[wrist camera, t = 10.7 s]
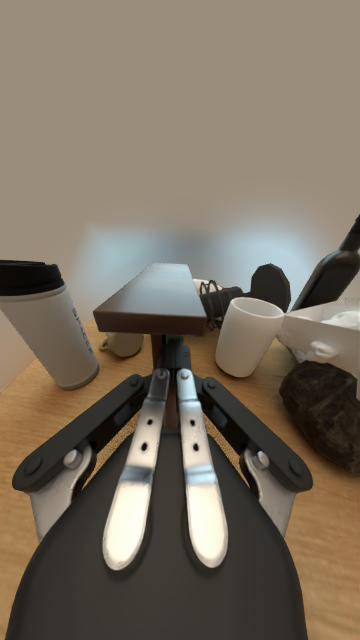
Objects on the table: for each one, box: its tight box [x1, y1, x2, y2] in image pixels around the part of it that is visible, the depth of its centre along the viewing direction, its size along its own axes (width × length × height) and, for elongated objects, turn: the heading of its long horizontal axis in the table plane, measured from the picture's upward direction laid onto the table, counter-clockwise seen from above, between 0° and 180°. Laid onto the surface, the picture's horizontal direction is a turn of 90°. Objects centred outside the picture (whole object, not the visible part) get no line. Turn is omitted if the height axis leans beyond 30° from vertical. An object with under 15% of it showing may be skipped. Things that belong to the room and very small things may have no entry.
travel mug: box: [0, 260, 99, 390], centre depth 19 cm, size 6×7×20 cm
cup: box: [215, 297, 284, 377], centre depth 24 cm, size 8×8×14 cm
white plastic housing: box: [276, 298, 360, 401], centre depth 17 cm, size 13×12×8 cm
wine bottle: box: [290, 215, 360, 312], centre depth 30 cm, size 6×6×30 cm
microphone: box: [198, 263, 291, 331], centre depth 32 cm, size 14×13×30 cm
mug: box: [99, 332, 144, 357], centre depth 29 cm, size 8×10×10 cm
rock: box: [279, 360, 360, 476], centre depth 17 cm, size 10×11×10 cm
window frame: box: [93, 263, 207, 429], centre depth 16 cm, size 13×4×20 cm, turn 0°
